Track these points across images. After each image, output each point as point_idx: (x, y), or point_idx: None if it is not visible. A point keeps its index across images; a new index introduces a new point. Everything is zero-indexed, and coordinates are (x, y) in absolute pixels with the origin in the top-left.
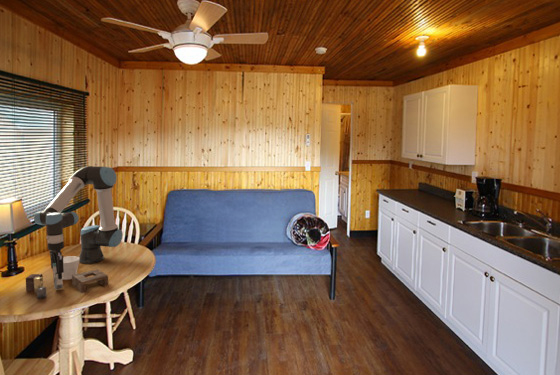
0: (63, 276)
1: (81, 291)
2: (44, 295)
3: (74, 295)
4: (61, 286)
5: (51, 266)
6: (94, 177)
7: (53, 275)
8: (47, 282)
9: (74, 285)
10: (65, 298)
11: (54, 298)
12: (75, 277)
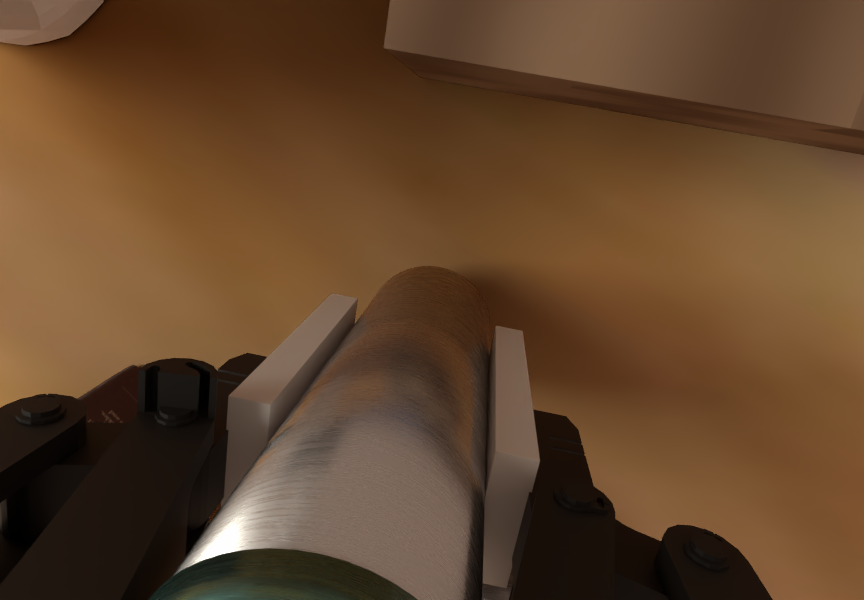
0: (25, 24)
1: (846, 151)
2: None
3: (848, 295)
4: (488, 320)
5: (9, 563)
6: None
7: None
8: (21, 250)
9: (519, 91)
10: (816, 426)
11: (671, 499)
12: (616, 84)
